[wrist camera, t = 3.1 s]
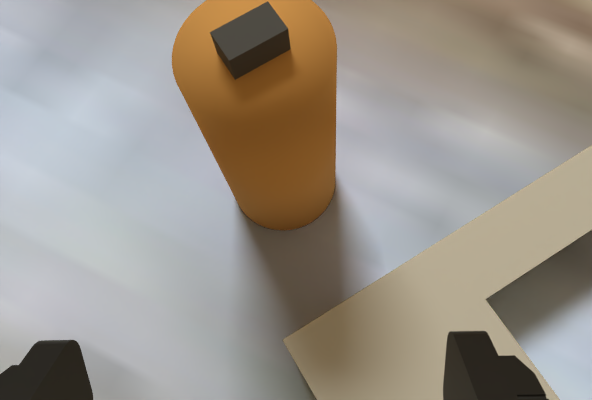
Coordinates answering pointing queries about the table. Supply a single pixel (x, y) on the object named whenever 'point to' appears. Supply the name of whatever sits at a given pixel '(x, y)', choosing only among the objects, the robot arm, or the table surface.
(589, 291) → the table surface
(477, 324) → the beige plate with cutout
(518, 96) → the table surface
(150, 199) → the table surface
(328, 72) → the orange capsule with nub
